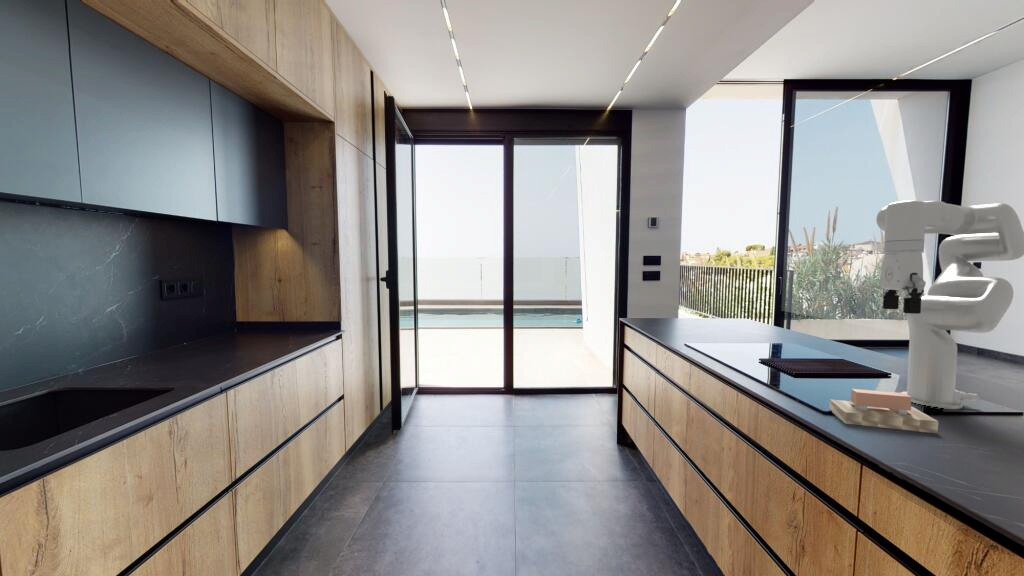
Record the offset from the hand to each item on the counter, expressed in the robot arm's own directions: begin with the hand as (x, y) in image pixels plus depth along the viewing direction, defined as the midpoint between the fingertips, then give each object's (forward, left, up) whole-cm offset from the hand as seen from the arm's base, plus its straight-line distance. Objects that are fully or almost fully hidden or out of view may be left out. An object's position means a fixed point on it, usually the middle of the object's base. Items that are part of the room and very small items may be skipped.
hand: (900, 311), depth 103 cm
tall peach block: (+7, +8, -28) cm, 30 cm away
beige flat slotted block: (+7, +8, -28) cm, 30 cm away
